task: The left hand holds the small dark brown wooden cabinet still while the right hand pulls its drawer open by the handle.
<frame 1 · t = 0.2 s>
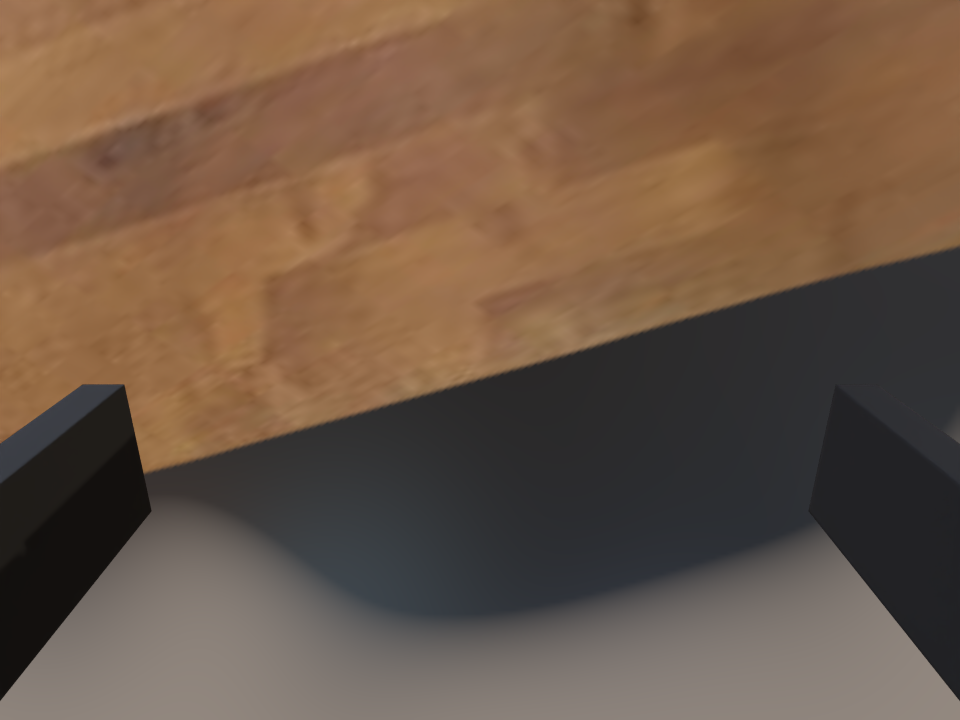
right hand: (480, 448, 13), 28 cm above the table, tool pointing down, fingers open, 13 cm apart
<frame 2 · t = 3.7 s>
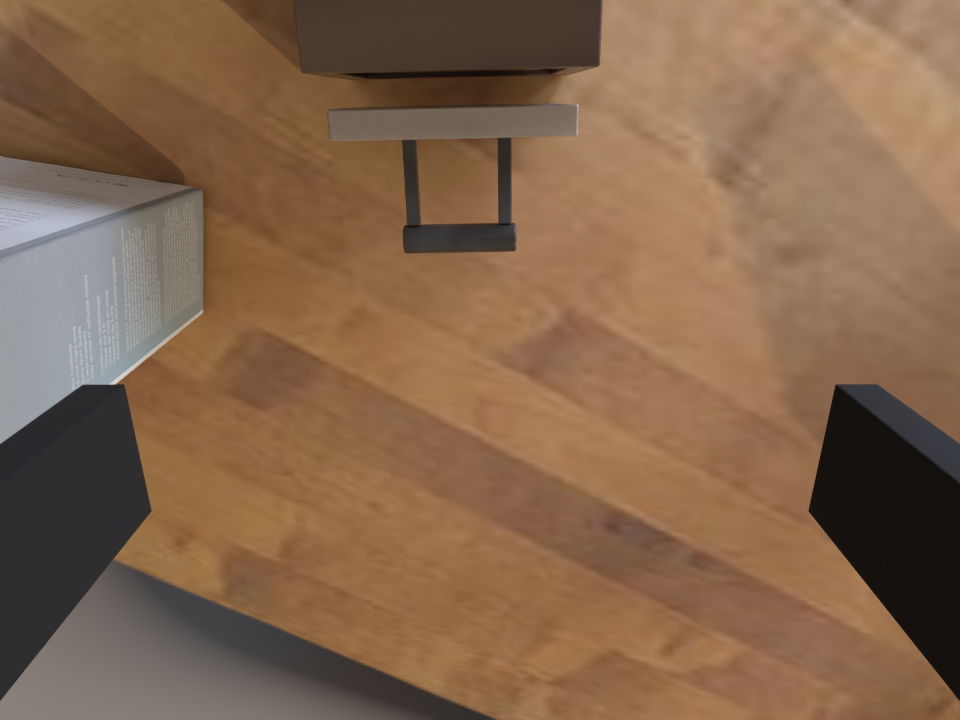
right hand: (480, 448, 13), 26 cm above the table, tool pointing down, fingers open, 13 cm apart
hard drive box: (70, 232, 37), on the table
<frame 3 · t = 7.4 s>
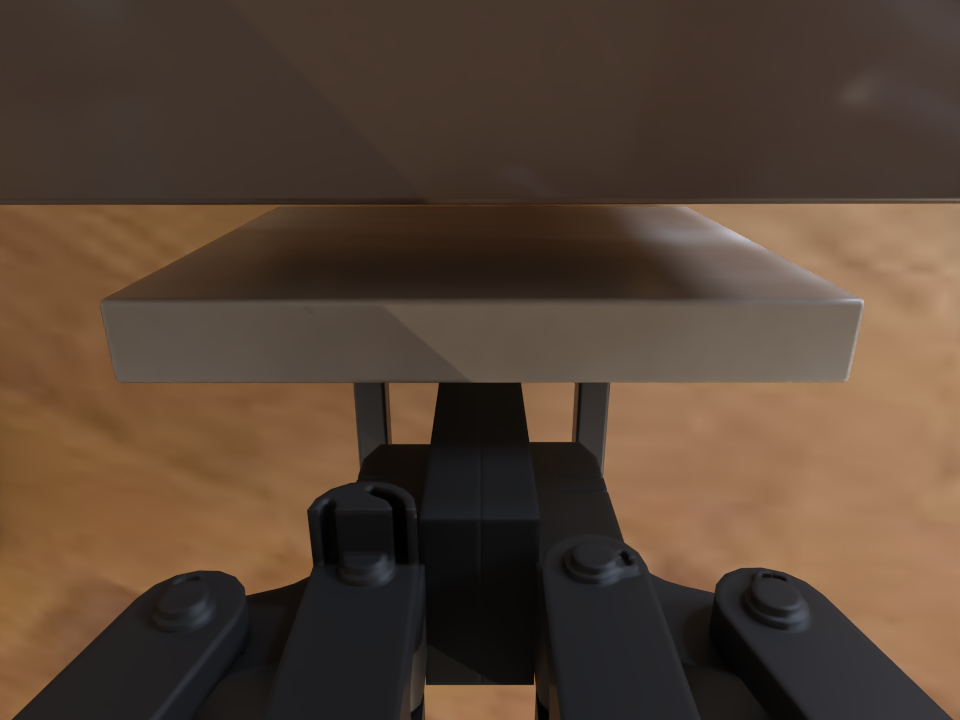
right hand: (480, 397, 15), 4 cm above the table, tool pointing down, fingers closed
when the left hand's fingers open (5 cm above the table, at t = 10.1 s): cabinet stays where it is, on the table.
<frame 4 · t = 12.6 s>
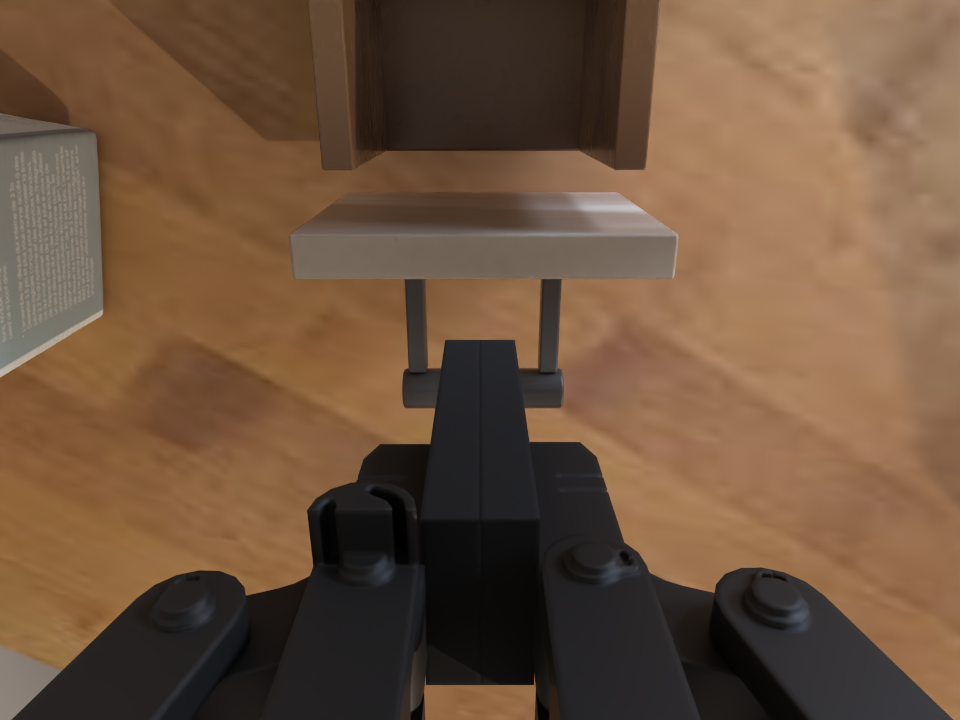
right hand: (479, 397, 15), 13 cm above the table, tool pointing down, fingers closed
drawer: (483, 2, 18), point 5 cm above the table, slide at 7.2 cm
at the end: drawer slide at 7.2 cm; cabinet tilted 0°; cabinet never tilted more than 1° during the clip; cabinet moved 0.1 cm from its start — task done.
